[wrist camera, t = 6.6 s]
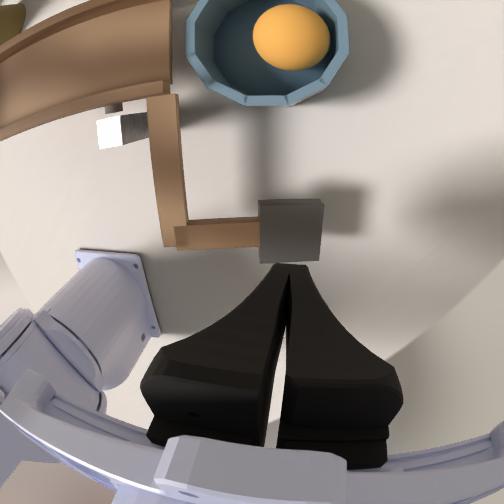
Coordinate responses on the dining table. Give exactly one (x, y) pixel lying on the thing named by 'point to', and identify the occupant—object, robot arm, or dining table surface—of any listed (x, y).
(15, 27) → the cork
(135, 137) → the chute stand
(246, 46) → the cup
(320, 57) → the ball
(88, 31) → the tipping chute
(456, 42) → the dining table surface
